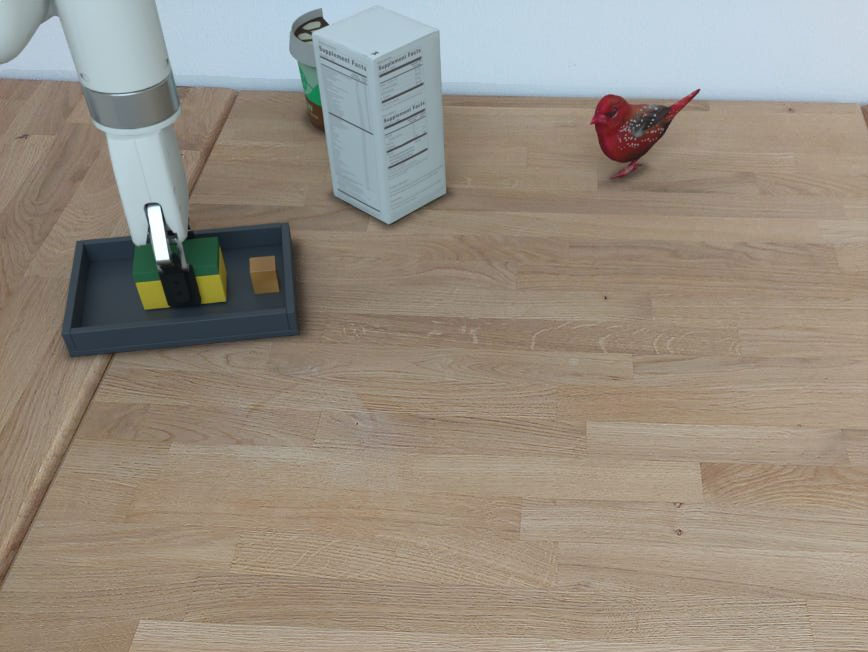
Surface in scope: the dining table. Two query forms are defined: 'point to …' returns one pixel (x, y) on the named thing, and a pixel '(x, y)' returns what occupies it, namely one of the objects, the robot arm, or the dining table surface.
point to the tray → (177, 326)
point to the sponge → (199, 255)
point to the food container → (308, 61)
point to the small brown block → (264, 275)
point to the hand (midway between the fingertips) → (185, 285)
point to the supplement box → (382, 111)
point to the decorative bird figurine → (632, 127)
